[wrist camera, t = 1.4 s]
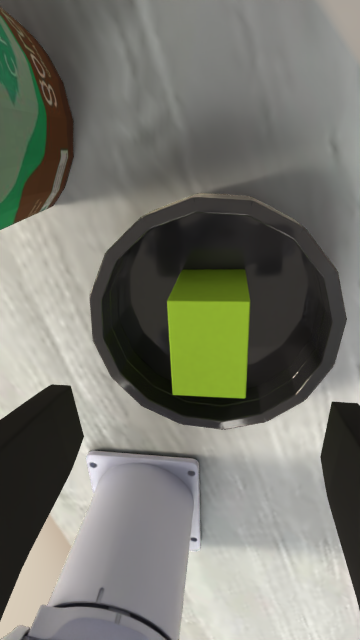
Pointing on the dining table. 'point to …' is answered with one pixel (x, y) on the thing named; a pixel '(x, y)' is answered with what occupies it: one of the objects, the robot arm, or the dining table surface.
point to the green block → (209, 333)
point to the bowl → (265, 306)
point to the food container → (30, 126)
